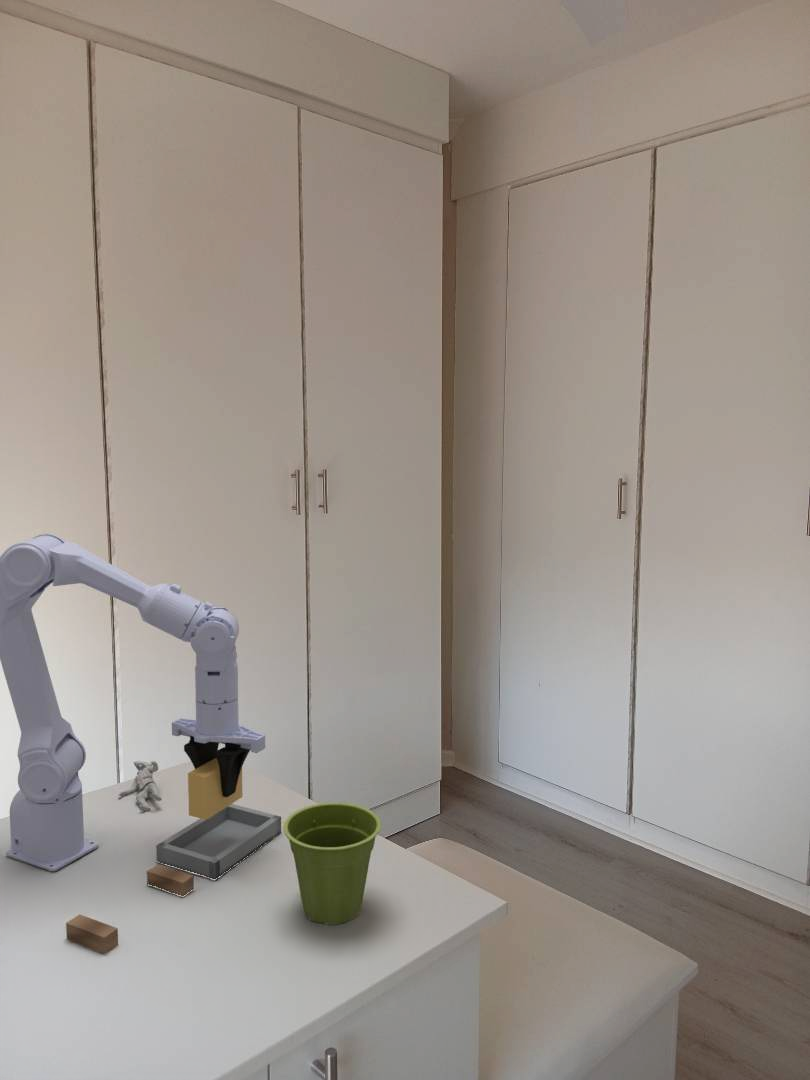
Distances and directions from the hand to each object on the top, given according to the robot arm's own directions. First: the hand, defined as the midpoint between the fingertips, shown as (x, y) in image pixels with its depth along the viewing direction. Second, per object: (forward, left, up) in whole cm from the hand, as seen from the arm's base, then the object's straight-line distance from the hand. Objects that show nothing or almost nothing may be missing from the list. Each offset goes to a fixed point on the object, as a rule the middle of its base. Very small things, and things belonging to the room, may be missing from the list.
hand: (218, 791), depth 118 cm
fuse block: (0, -1, -2) cm, 2 cm away
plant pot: (+22, -6, -9) cm, 24 cm away
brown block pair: (+1, -18, -8) cm, 20 cm away
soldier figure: (-21, +8, -9) cm, 24 cm away
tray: (0, 0, -8) cm, 8 cm away
